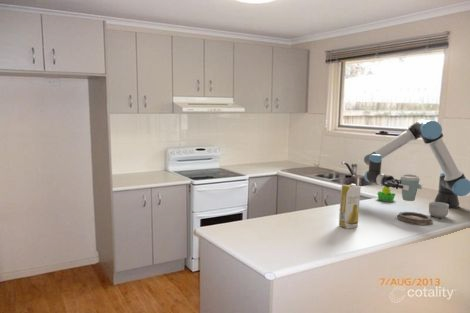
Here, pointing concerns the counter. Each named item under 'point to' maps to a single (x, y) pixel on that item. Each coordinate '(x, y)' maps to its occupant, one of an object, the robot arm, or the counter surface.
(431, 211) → the teacup
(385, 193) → the fruit basket
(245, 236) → the counter surface
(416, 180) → the disposable coffee cup
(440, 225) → the counter surface
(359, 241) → the counter surface
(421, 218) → the ring board
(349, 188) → the juice carton
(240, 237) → the counter surface
